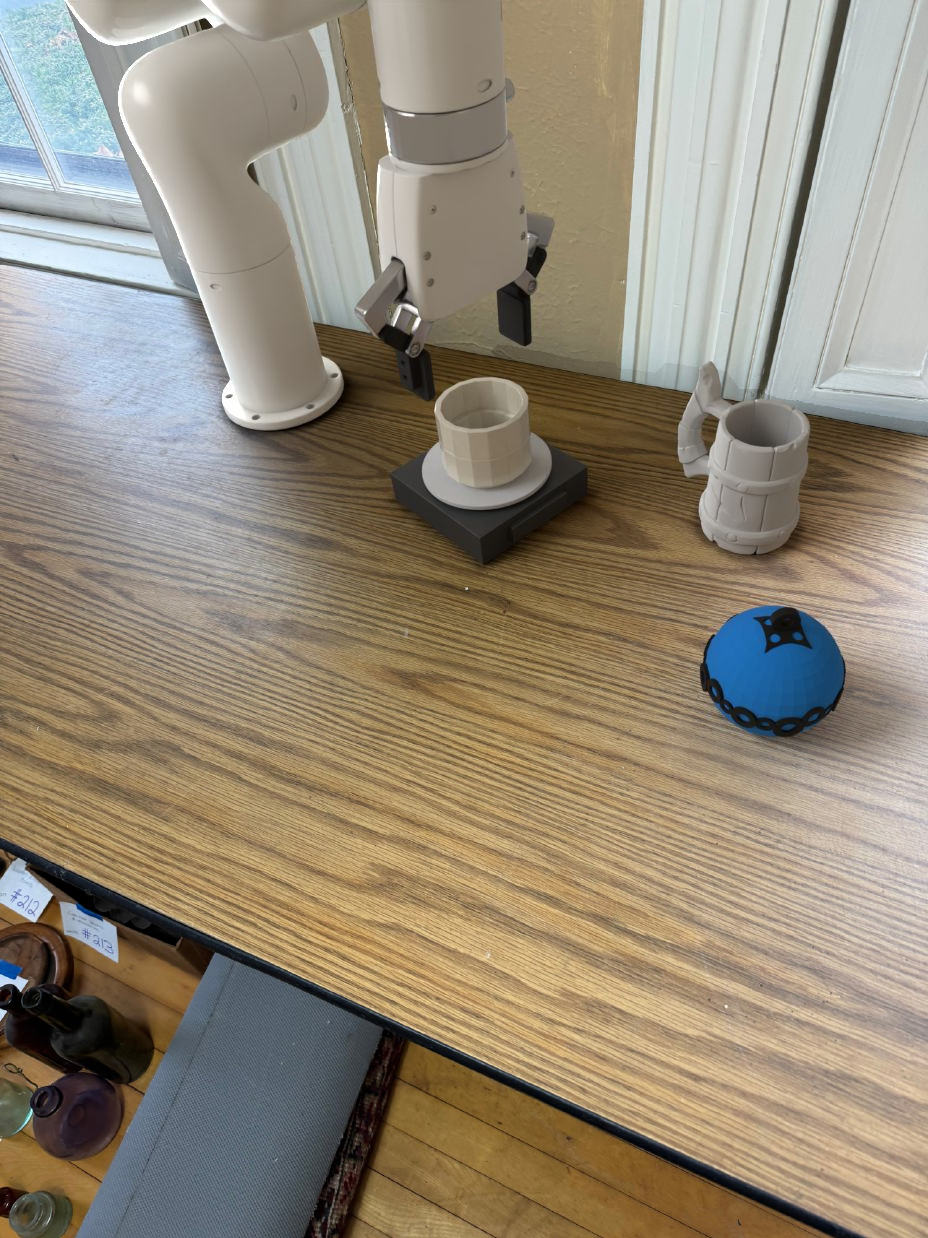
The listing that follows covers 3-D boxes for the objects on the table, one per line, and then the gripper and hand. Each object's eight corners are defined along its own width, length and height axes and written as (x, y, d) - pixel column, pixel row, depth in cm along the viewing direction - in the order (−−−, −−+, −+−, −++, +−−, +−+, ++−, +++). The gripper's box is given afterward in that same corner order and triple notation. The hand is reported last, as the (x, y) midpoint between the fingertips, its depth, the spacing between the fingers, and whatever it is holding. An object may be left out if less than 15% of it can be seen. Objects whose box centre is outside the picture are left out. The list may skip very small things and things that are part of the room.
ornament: (808, 654, 60) (839, 552, 52) (847, 759, 54) (888, 661, 47) (684, 665, 61) (697, 565, 53) (710, 770, 55) (729, 674, 47)
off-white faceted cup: (427, 465, 73) (416, 406, 68) (491, 426, 75) (485, 366, 71) (483, 505, 69) (476, 444, 64) (550, 461, 71) (547, 400, 67)
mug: (747, 572, 66) (772, 446, 57) (643, 496, 73) (650, 373, 64) (817, 528, 68) (851, 400, 59) (709, 458, 75) (725, 334, 66)
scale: (395, 499, 76) (388, 466, 73) (495, 437, 80) (492, 403, 78) (487, 568, 69) (483, 534, 66) (592, 496, 73) (592, 461, 71)
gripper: (509, 69, 58) (518, 303, 71) (296, 155, 52) (349, 394, 65) (589, 93, 54) (583, 336, 67) (369, 189, 48) (410, 437, 61)
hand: (468, 365), depth 66 cm, fingers open, 9 cm apart
